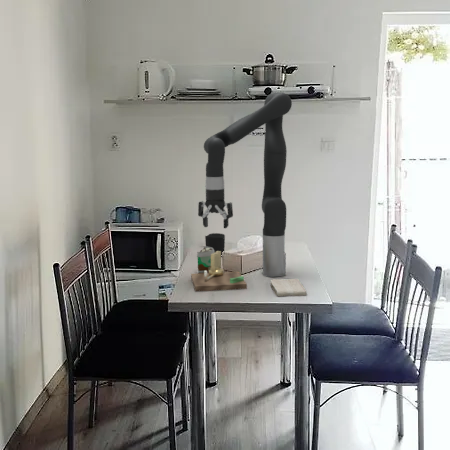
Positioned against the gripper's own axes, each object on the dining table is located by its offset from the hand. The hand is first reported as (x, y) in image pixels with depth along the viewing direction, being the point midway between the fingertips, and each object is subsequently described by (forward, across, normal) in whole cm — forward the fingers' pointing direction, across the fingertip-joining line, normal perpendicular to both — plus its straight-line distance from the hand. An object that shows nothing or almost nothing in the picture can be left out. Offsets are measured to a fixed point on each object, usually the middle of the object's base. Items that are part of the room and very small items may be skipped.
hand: (215, 227), depth 248 cm
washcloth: (+23, -31, +4) cm, 39 cm away
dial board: (+22, -3, +5) cm, 23 cm away
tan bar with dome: (+19, 0, +4) cm, 20 cm away
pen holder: (+22, +17, -40) cm, 49 cm away
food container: (+22, +8, -10) cm, 26 cm away
